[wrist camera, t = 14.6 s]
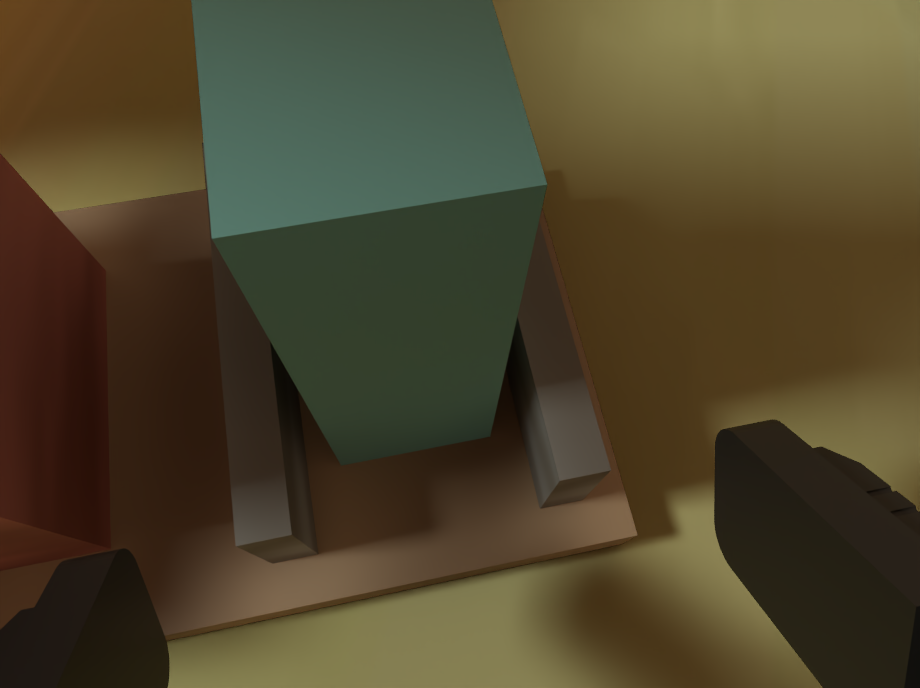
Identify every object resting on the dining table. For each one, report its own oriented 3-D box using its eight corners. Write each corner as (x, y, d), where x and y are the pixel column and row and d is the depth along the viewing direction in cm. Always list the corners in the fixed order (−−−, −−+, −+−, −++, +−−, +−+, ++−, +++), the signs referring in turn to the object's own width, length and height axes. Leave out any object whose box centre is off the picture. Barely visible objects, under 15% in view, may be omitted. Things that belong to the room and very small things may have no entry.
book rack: (-268, 733, 15) (-2356, 995, 4) (-197, 285, 20) (-1111, -228, 8) (622, 544, 17) (974, 347, 6) (517, 172, 22) (604, -372, 10)
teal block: (341, 465, 16) (211, 237, 7) (313, 276, 18) (183, -97, 9) (489, 436, 17) (547, 184, 8) (448, 253, 19) (453, -129, 9)
